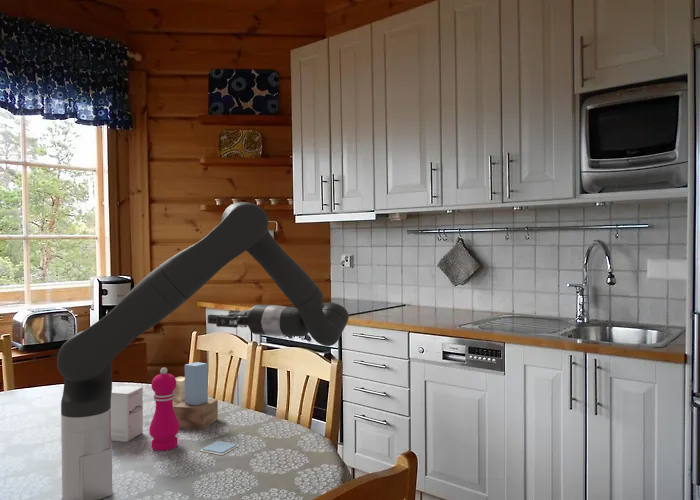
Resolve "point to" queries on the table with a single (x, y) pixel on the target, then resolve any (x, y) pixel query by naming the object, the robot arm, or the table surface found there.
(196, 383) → the blue pillar
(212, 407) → the walnut block
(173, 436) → the pepper mill
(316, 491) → the table surface
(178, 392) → the oak pillar
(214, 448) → the tile
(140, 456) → the table surface
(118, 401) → the supplement box
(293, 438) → the table surface
